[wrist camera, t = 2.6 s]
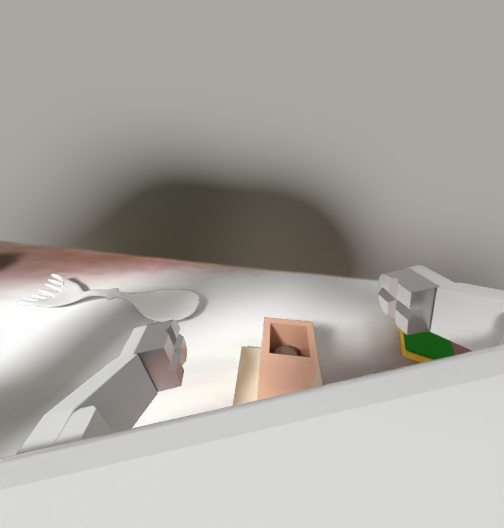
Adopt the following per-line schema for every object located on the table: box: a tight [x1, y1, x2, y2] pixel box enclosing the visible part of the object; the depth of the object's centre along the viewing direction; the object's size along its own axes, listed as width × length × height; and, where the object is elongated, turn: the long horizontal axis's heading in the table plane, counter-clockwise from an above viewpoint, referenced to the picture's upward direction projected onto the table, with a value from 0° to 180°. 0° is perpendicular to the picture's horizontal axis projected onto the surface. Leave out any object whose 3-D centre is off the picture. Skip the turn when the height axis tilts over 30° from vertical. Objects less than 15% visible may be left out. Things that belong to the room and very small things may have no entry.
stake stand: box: [233, 346, 323, 406], centre depth 32 cm, size 12×12×8 cm
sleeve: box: [257, 317, 319, 400], centre depth 30 cm, size 6×6×10 cm
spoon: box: [16, 274, 200, 322], centre depth 46 cm, size 9×32×4 cm, turn 85°
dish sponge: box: [399, 328, 454, 363], centre depth 44 cm, size 7×14×2 cm, turn 157°
